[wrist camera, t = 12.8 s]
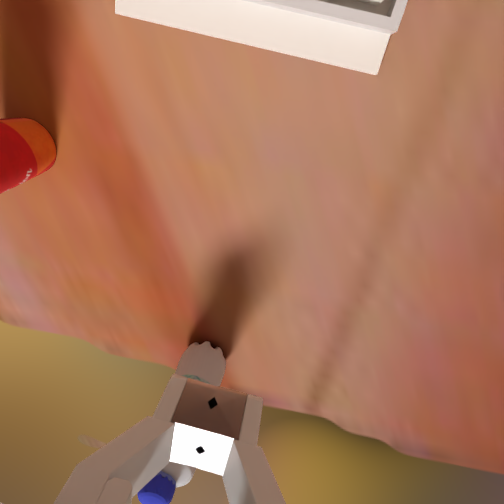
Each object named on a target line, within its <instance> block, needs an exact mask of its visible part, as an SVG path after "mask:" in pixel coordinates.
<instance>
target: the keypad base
mask: <svg viewBox="0 0 504 504" xmlns="http://www.w3.org/2000/svg"><path fill="white" fill-rule="evenodd" d="M407 1H408V0H383V1H382V2H381V3H380V4H379V5H378V6H375V5H371V4H366V3H362V2H357V1H353V0H115V13H116V14H119V15H123V16H127V17H131V18H136V19H140V20H144V21H148V22H153V23H157V24H161V25H165V26H169V27H174V28H178V29H182V30H186V31H191V32H195V33H199V34H203V35H207V36H212V37H216V38H220V39H224V40H229V41H233V42H237V43H241V44H245V45H250V46H254V47H258V48H262V49H267V50H271V51H275V52H279V53H284V54H288V55H292V56H296V57H300V58H305V59H309V60H313V61H317V62H322V63H326V64H330V65H334V66H338V67H343V68H347V69H351V70H355V71H360V72H364V73H368V74H372V75H377V73H378V70H379V67H380V64H381V61H382V58H383V55H384V52H385V49H386V47H387V44H388V41H389V38H390V35H391V34H393V33H395V32H397V30H398V27H399V24H400V21H401V19H402V16H403V13H404V10H405V7H406V4H407Z"/></svg>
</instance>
